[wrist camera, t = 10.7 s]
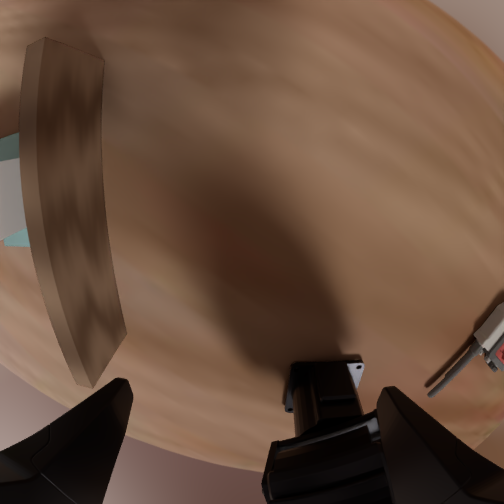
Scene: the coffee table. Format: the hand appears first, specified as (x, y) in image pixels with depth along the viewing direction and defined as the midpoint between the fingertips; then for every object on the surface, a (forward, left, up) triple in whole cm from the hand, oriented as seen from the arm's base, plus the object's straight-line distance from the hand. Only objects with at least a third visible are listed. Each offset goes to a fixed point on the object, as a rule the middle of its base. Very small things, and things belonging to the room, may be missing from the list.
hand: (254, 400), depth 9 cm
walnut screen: (+4, +12, -12) cm, 17 cm away
